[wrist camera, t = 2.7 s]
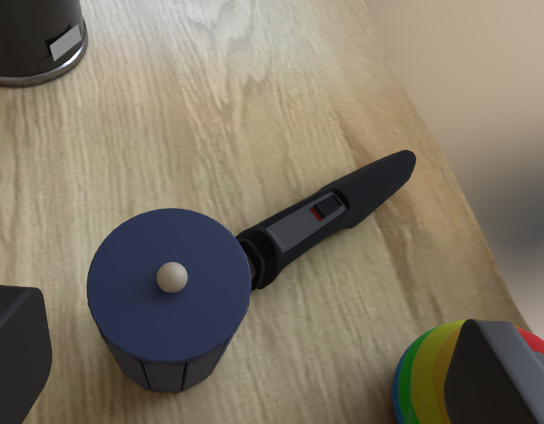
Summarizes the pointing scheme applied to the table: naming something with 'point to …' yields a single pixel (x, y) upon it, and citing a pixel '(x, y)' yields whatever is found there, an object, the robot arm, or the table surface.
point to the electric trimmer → (321, 216)
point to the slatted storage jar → (168, 296)
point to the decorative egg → (431, 374)
